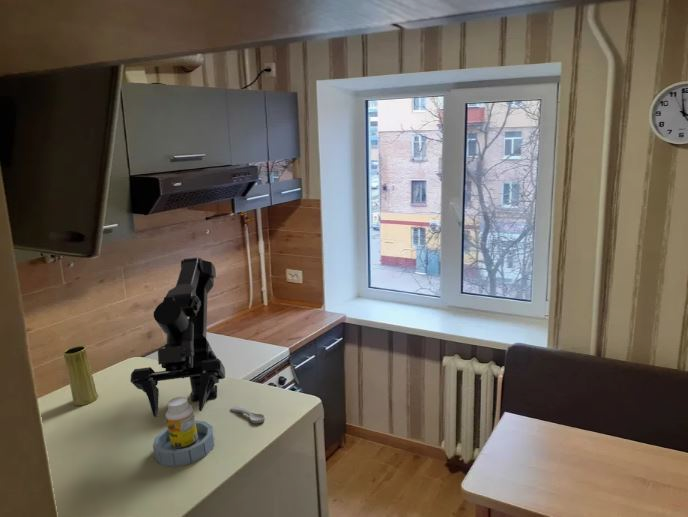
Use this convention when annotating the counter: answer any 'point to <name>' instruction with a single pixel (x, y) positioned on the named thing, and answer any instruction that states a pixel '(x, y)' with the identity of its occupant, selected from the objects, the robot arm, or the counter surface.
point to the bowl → (186, 455)
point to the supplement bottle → (181, 423)
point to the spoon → (253, 417)
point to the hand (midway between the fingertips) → (177, 413)
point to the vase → (80, 376)
